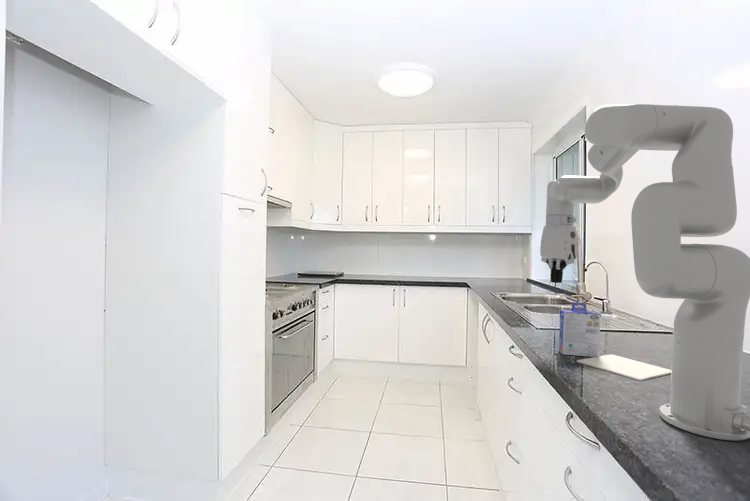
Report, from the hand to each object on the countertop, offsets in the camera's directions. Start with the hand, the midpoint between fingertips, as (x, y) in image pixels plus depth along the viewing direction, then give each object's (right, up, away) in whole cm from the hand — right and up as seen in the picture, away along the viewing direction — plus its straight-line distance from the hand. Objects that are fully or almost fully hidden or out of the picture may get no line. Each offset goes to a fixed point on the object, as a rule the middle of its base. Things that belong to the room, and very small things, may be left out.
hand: (556, 282), depth 123 cm
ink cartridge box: (+3, -20, -7) cm, 22 cm away
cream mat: (+9, -20, -18) cm, 29 cm away
